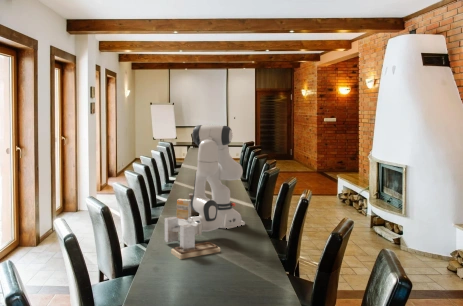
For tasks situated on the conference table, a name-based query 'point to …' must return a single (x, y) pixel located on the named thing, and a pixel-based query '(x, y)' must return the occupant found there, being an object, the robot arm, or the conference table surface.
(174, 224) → the aluminium billet
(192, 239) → the billet
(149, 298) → the conference table surface
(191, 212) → the pillar candle
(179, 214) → the supplement box
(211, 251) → the wooden compartment tray
